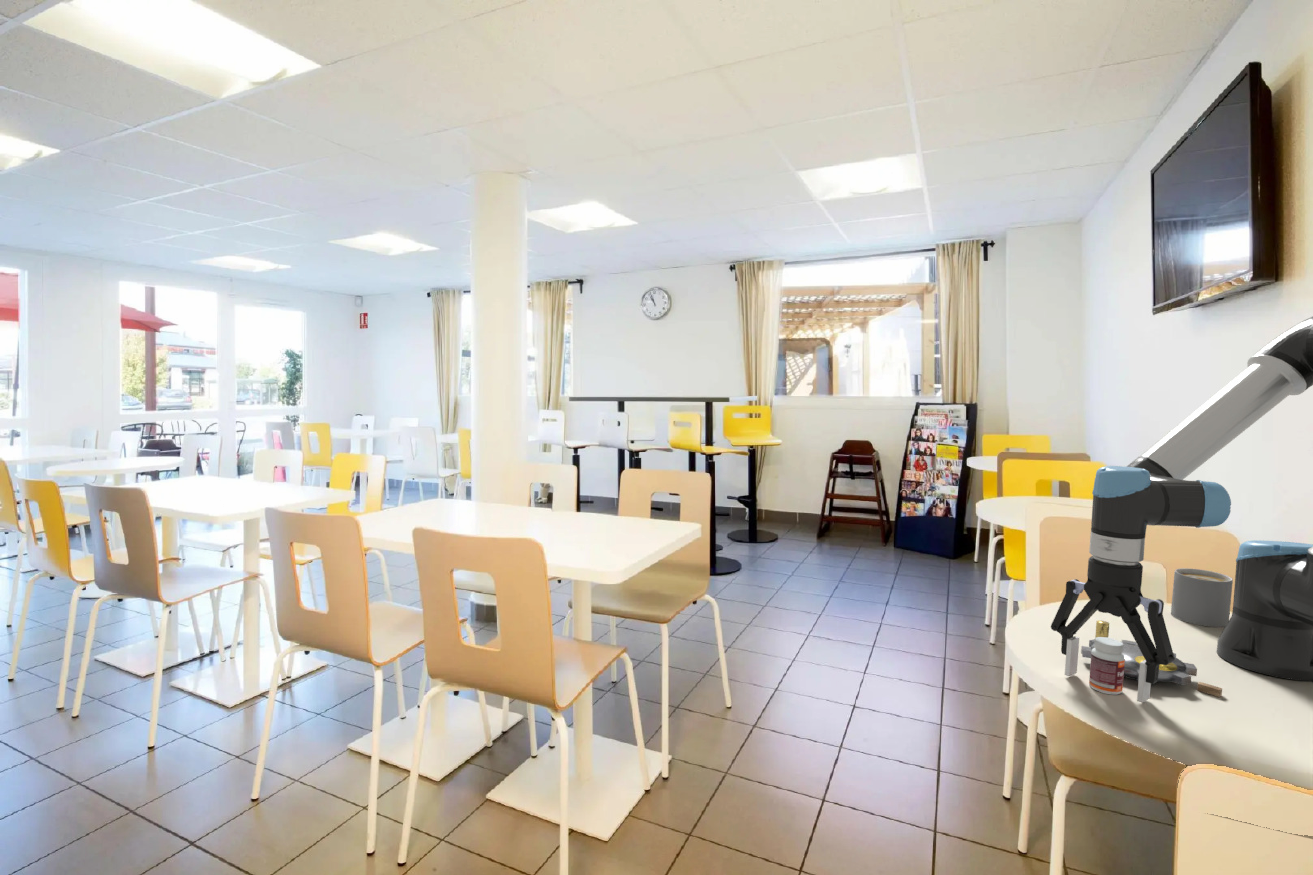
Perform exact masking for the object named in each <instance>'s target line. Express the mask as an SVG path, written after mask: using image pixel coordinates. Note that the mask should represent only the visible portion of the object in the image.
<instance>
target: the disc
mask: <svg viewBox="0 0 1313 875" xmlns="http://www.w3.org/2000/svg"><path fill="white" fill-rule="evenodd" d="M1095 623H1096V624H1095V634H1094V639H1089V641H1088V642H1089V643H1088V646H1084V645H1082V646H1081V650H1080V653H1081V657H1082V658H1085V659H1086V658H1087V659H1091V651H1092V649H1093V648H1095V647H1094V643H1095V638H1097V637H1107V638H1109V633H1110V632H1109V631H1110V623H1109V621H1104V620H1096V622H1095ZM1121 642H1122V643H1123V652H1122V654H1123V655H1124V657H1125V665H1124V675H1127V676H1131V677H1135V678H1137V680H1136V681H1137V682H1139V670H1140V662H1142V661H1144V660H1145V658H1144V656H1143V654H1142V652H1141V651H1140V649H1139V647H1138V645H1137V643H1136V641H1131V640H1126V639H1121ZM1173 654H1174V658H1175V660H1174V661H1173V662H1171V663H1169V664H1167V665H1163V664H1160V665H1159V675H1158V680H1157V681H1162V682H1166V683H1167V682H1169V683H1170V682H1172V683H1175V684H1178V685H1180V686H1185V685H1189V684H1190V685H1191V684H1192V683H1191V682H1192V676H1193V677H1197V674H1198V668H1197V667H1196V666H1195V664H1194V663H1188V662H1183V661H1182V660H1181V659H1179V658H1178V657H1177V653H1175V652H1173ZM1162 682H1161V683H1162Z"/></svg>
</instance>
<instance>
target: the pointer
mask: <svg viewBox="0 0 1313 875" xmlns="http://www.w3.org/2000/svg"><path fill="white" fill-rule="evenodd" d="M1196 691H1198V692H1202V693H1204V694H1209V695H1211V696H1215V697H1216V698H1217V697H1218V698H1220V697H1222V695H1223V688H1222V687H1219V686H1217V685H1212V684H1209V683H1206V682H1202V681H1198V683H1197V690H1196Z"/></svg>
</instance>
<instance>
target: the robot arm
mask: <svg viewBox="0 0 1313 875" xmlns="http://www.w3.org/2000/svg"><path fill="white" fill-rule="evenodd" d="M1246 364H1247V365H1246V366H1247V368H1246V369H1245V370H1243V371H1242V372H1241V373H1239V375H1237V376H1236V377H1235V378H1233V379H1232V380H1231V381H1230V382H1229V383H1227V384H1226V385H1225V386H1223V387H1222V388H1221V389H1220V390H1218V392H1216V393H1215V394H1214V395H1212V397H1210V398H1209V399H1208V400H1206V401H1205V402H1204V403H1203V404H1201V405H1200V406H1199V407H1198V408H1197V409H1196V410H1194V411H1193V412H1192V413H1190V414H1189V415H1188V416H1187V417H1186V418H1184V419H1183V420H1182V421H1181V422H1179V424H1177V425H1176V426H1175V427H1173V428H1172V429H1171V430H1169V432H1167V433H1166V434H1165V435H1164V436H1162V437H1161V438H1160V439H1159V440H1157V442H1155V443H1154V444H1152V445H1151V446H1150V447H1149V448H1148V449H1146V450H1145V451H1143V453H1142V454H1140V455H1139V456H1138V457H1136V459H1134V460H1133V461H1132V462H1130V463H1129V464H1128V465H1126V466H1121V465H1119V466H1118V465H1105V466H1101V467H1099V468H1098V469H1096V471H1095V472H1096V474H1095V478H1094V484H1093V490H1092V510H1091V522H1090V523H1091V527H1090V536H1089V537H1090V538H1089V549H1088V550H1089V551H1088V552H1089V554H1090V555H1091V556H1090V557H1088V562H1087V563H1088V564H1087V574H1086V575H1087V580H1086V581H1085V582H1084V581H1083V582H1082V581H1080V580H1079V579H1076V578H1075V579H1071V580H1068V581H1066V583H1065V595H1064V596H1063V599H1062V601H1061V603H1060V605H1059V607H1058V609H1057V611H1056V614H1055V616H1054V617H1053V620H1052V622H1051V624H1050V628H1051V630H1052V631H1054V632H1057V633H1059V634H1060V635H1061V645H1060V646H1061V647H1060V652H1061V654H1062V655H1065V665H1064V666H1065V667H1064V676H1067V677H1071V676H1073V675H1076V674H1077V673H1078V660H1079V646H1080V637H1079V636H1074V635H1076V634H1077V632H1078V631H1080V629H1081V627H1083V626H1084V625H1085V624H1086V623H1087V622H1088V620H1090V618H1091V617H1092V616H1093V615H1094V614H1095V613H1096V612H1097V611H1098V612H1099V613H1105V614H1110V615H1112V616H1114V617H1118V618H1121V620H1122V621H1123V623H1124V624H1126V626H1127V628H1128V630H1129V631H1130V633H1131V636H1132V637H1133V639H1134V642H1136V644H1137V645H1138V647H1139V649H1140V651H1141V652H1142V654H1143V656H1144V658H1145V660H1144V661H1142V662H1140V670H1139V681H1137V683H1138V685H1137V697H1136V701H1137V702H1139V703H1145V702H1146V701H1148V700H1149V699H1150V697H1151V696H1150V695H1151V685H1155V684H1156V683H1158V682H1157V680H1158V675H1159V665H1160V664H1163V665H1167V664H1169V663H1171V662H1173V661H1174V660H1175V658H1174V654H1173V653H1174V652H1173V648H1172V647H1173V646H1172V644H1171V641H1170V636H1169V633H1168V629H1167V626H1166V622H1165V619H1164V618H1165V617H1164V614H1163V613H1164V606H1165V604H1164V601H1163V600H1162V599H1160V598H1157V599H1155V600H1154V599H1151V598H1148V597H1145V596H1144V595H1143V593H1142V584H1143V583H1142V582H1143V571H1144V570H1143V569H1144V566H1143V565H1142V563H1141V562H1142V561H1144V559H1145V558H1144V557H1145V545H1146V544H1145V543H1146V542H1145V541H1146V535H1147V534H1146V532H1147V526H1163V527H1164V526H1166V527H1167V526H1168V527H1190V528H1191V527H1192V528H1194V527H1195V528H1198V529H1199V528H1207V527H1208V528H1210V527H1218V526H1220V525H1223V524H1224V523H1225V522H1226V521H1227V520H1228V518H1229V516H1230V514H1231V505H1232V499H1231V496H1230V494H1229V493H1228V491H1227V489H1226V488H1225V487H1224V486H1223V485H1221V484H1220V483H1218V482H1215V481H1205V480H1200V479H1197V480H1186V478H1187V477H1188V476H1189V475H1191V474H1192V473H1193V472H1195V471H1196V470H1198V468H1199V467H1201V466H1202V465H1203V464H1205V463H1206V462H1207V461H1208V460H1210V459H1211V458H1212V457H1213V456H1215V455H1216V454H1217V453H1219V451H1221V450H1222V449H1223V448H1224V447H1227V445H1228V444H1230V443H1231V442H1232V441H1233V440H1235V439H1236V438H1237V437H1238V436H1240V435H1241V434H1242V433H1243V432H1245V431H1246V430H1248V428H1250V427H1251V426H1252V425H1253V424H1255V423H1257V421H1259V420H1260V419H1261V418H1262V417H1264V416H1265V415H1266V414H1267V413H1269V412H1270V411H1271V410H1273V409H1274V408H1275V407H1276V406H1277V405H1278V404H1280V403H1281V402H1283V401H1284V400H1285V399H1286V398H1287V397H1288V396H1299V395H1301V394H1303V393H1304V392H1306V391H1307V390H1308V389H1309V388H1310V387H1312V386H1313V316H1311V317H1309V318H1306V319H1304V320H1302V321H1301V322H1299V323H1297V324H1295V325H1293V326H1292V327H1290V328H1288V329H1287V330H1286V331H1284V332H1282V333H1280V335H1278V336H1276V337H1275V338H1274V339H1272V340H1270V341H1269V342H1268V343H1267V344H1266V345H1264V346H1263V347H1262V348H1260V349H1259V350H1257V352H1255V353H1254V354H1253V355H1252V356H1251V357H1250V358H1249V359H1247V363H1246ZM1184 479H1185V480H1184ZM1235 562H1236V563H1235V564H1236V566H1235V576H1234V587H1233V588H1234V590H1233V604H1232V613H1231V615H1230V617H1229V622H1228V623H1227V625H1226V626H1225V627H1224V628H1223V630H1222V631H1221V634H1220V635H1219V638H1218V639H1217V644H1216V653H1217V655H1218V656H1219V657H1221V659H1223V660H1224V661H1227V662H1228V663H1231V664H1232V665H1234V666H1238V667H1240V668H1242V669H1245V670H1248V671H1252V672H1255V673H1259V674H1263V675H1267V676H1270V677H1275V678H1281V679H1286V680H1287V679H1288V680H1295V681H1306V682H1309V681H1310V682H1311V681H1312V682H1313V544H1312V543H1304V542H1303V543H1302V542H1296V541H1295V542H1293V541H1292V542H1291V541H1281V540H1280V541H1279V540H1255V539H1254V540H1246V541H1244V542H1242V543H1241V544H1240V545H1239V547H1238V551H1237V557H1236V558H1235ZM1083 592H1085V594H1086V595H1087V597H1088V599H1089V600H1088V602H1087V603H1086V604H1085V605H1084V606H1083V607H1082V609H1081V610H1080V611H1079V612H1078V614H1076V616H1075V617H1073V619H1072V620H1071V621H1070V622H1069V623H1068V624H1067V622H1068V620H1069V618H1070V616H1071V614H1072V612H1073V609H1074V607H1075V605H1076V604H1077V603H1076V602H1077V600H1078V598H1079V596H1080V594H1082V593H1083ZM1141 605H1142V607H1143V609H1144V611H1145V612H1146V613H1147V620H1148V623H1149V627H1150V630H1151V635H1152V638H1153V641H1154V642H1153V641H1152V639H1151V636H1150V634H1149V633H1148V631H1147V629H1146V628H1145V626H1144V624H1143V622H1142V619H1141V615H1140V613H1139V611H1138V610H1137V608H1138V607H1139V606H1141Z"/></svg>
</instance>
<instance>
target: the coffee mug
mask: <svg viewBox="0 0 1313 875" xmlns="http://www.w3.org/2000/svg"><path fill="white" fill-rule="evenodd" d="M1173 575H1174V576H1173V583H1172V584H1173V585H1172V586H1173V587H1172V598H1171V607H1170V608H1171V609H1170V615H1171V616H1172V617H1173V618H1175V619H1177V620H1180V621H1183V622H1186V623H1189V624H1191V625H1192V624H1193V625H1198V626H1202V627H1203V626H1204V627H1210V628H1225V627H1226V625H1227V623H1228V622H1229V620H1230V616H1231V614H1230V612H1231V604H1232V603H1231V601H1232V593H1233V584H1234V582H1233V578H1232V577H1231V576H1229V575H1226V574H1223V573H1222V572H1220V573H1219V572H1216V571H1212V570H1207V569H1206V570H1205V569H1199V568H1188V567H1187V568H1185V567H1184V568H1183V567H1182V568H1176V569H1175V570H1174V573H1173Z"/></svg>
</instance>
